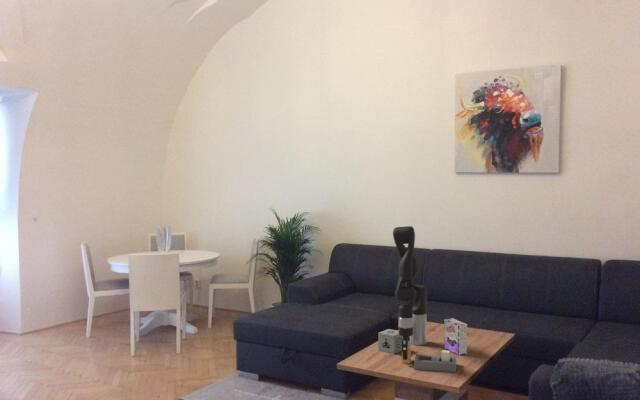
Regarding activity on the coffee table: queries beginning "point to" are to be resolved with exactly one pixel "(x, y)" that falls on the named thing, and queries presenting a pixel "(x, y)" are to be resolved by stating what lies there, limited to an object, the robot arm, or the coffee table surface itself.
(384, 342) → the icon cube
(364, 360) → the coffee table surface
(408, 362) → the orange plug
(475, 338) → the coffee table surface
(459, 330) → the candy box
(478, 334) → the coffee table surface
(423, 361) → the grey slotted holder
